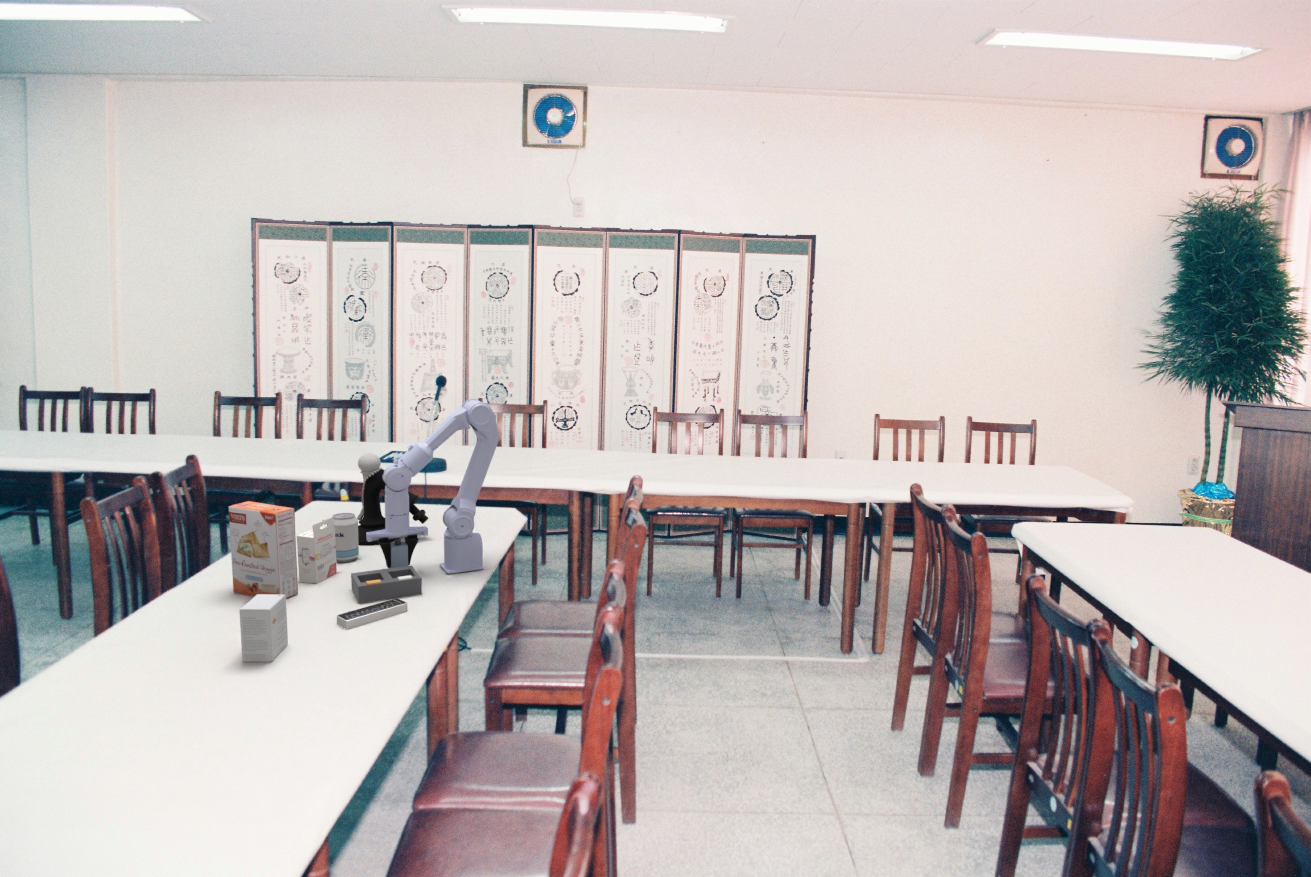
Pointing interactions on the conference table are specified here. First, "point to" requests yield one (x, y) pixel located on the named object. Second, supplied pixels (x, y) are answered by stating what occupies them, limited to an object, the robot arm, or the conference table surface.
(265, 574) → the cracker box
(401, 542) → the plug
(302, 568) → the ink cartridge box
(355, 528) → the beverage can
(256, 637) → the small box
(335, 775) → the conference table surface
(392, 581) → the port box
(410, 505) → the sculpture
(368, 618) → the multiport hub
